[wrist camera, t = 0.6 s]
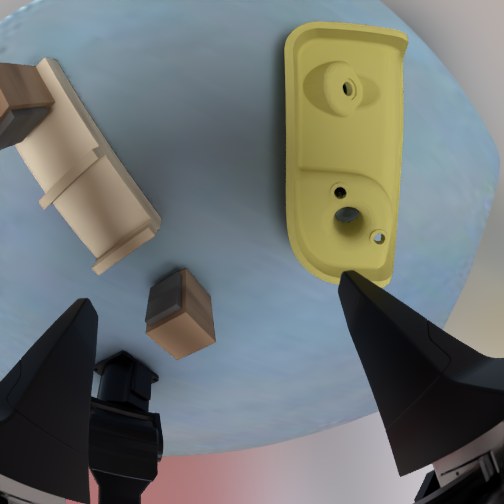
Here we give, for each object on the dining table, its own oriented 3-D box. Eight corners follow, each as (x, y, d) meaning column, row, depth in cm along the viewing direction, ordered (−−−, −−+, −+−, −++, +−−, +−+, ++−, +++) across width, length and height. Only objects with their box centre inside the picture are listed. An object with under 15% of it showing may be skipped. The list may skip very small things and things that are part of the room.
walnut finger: (177, 314, 27) (177, 360, 22) (148, 283, 24) (140, 328, 19) (210, 296, 26) (215, 342, 21) (182, 262, 24) (180, 306, 19)
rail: (110, 255, 22) (84, 315, 15) (9, 109, 14) (-51, 122, 7) (161, 219, 22) (148, 273, 15) (56, 59, 13) (-1, 49, 6)
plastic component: (282, 21, 14) (423, 36, 11) (295, 48, 20) (400, 57, 18) (283, 278, 22) (402, 290, 20) (295, 242, 29) (388, 252, 26)
